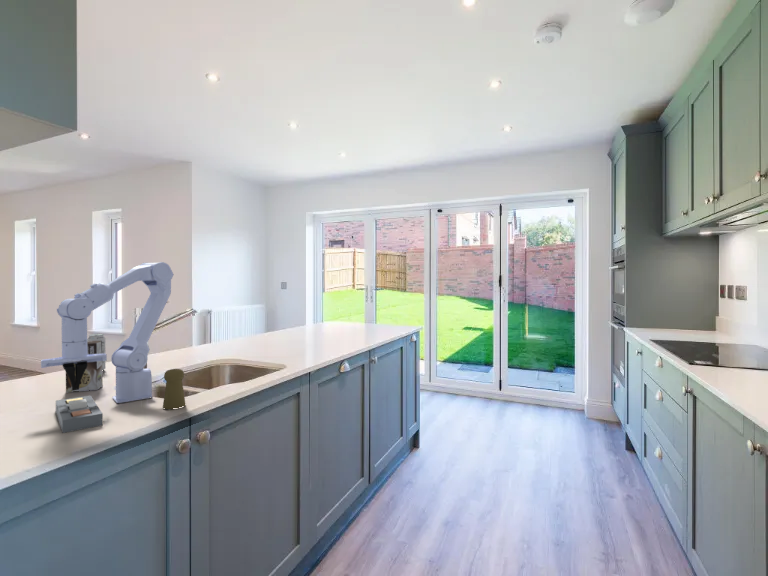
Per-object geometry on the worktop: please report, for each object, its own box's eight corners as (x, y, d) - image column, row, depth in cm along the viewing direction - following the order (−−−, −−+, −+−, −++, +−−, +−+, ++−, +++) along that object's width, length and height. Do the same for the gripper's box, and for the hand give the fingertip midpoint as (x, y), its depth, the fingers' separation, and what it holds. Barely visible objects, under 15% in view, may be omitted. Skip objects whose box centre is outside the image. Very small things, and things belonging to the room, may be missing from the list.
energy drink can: (106, 369, 168) (106, 333, 168) (104, 372, 163) (104, 335, 162) (88, 370, 165) (88, 334, 165) (86, 373, 160) (86, 336, 159)
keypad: (90, 405, 119) (90, 395, 119) (102, 425, 103) (102, 413, 103) (55, 411, 113) (55, 400, 113) (62, 432, 97) (62, 420, 97)
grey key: (85, 409, 111) (85, 398, 111) (87, 412, 108) (87, 401, 108) (68, 412, 108) (68, 401, 108) (70, 415, 106) (70, 404, 105)
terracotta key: (88, 420, 105) (88, 408, 105) (90, 423, 103) (90, 412, 103) (71, 423, 103) (71, 411, 103) (73, 427, 100) (72, 415, 100)
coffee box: (103, 385, 141) (103, 340, 141) (97, 390, 135) (97, 342, 135) (72, 388, 138) (71, 341, 138) (64, 392, 132) (64, 343, 132)
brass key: (82, 407, 116) (82, 397, 116) (83, 410, 113) (83, 400, 113) (66, 410, 113) (66, 399, 113) (67, 413, 111) (67, 402, 111)
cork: (180, 402, 122) (180, 366, 122) (189, 406, 119) (189, 369, 118) (158, 407, 118) (158, 369, 118) (167, 411, 114) (167, 372, 114)
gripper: (41, 345, 105) (42, 397, 105) (108, 340, 115) (108, 387, 115) (40, 342, 110) (41, 391, 111) (104, 337, 120) (104, 382, 120)
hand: (75, 389), depth 113 cm, fingers closed
